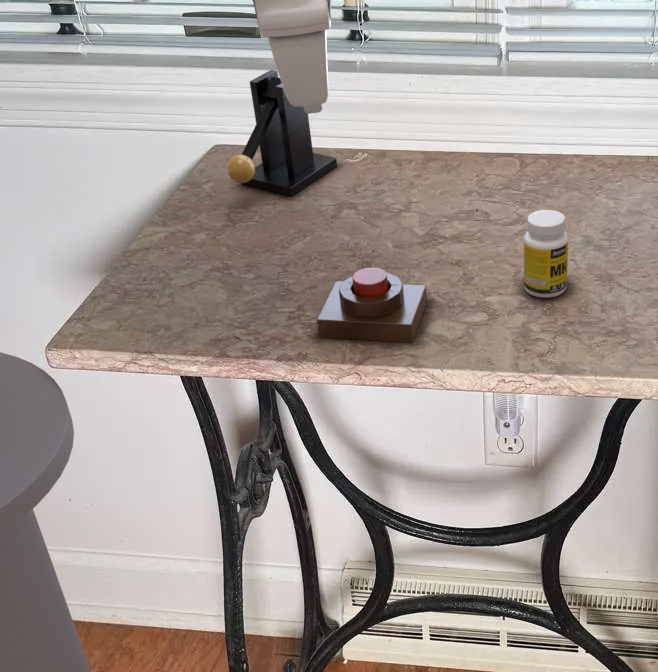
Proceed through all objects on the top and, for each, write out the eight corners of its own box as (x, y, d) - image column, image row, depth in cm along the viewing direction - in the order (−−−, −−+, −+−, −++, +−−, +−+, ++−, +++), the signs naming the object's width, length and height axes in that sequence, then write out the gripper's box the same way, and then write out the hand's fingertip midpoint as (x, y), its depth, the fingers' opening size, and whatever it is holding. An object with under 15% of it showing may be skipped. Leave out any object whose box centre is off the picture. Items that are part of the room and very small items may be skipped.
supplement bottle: (554, 303, 127) (554, 232, 122) (516, 292, 129) (515, 222, 124) (575, 283, 130) (576, 213, 125) (537, 273, 132) (537, 203, 127)
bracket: (291, 196, 150) (277, 97, 141) (242, 184, 153) (225, 87, 145) (337, 166, 156) (326, 69, 148) (288, 155, 159) (275, 60, 151)
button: (350, 298, 123) (348, 283, 121) (358, 281, 125) (356, 266, 124) (384, 300, 122) (383, 285, 121) (391, 282, 125) (390, 268, 124)
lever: (253, 190, 146) (239, 175, 143) (231, 185, 148) (217, 170, 145) (300, 93, 149) (287, 76, 146) (278, 89, 150) (265, 72, 147)
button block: (319, 337, 124) (314, 304, 121) (337, 298, 130) (333, 266, 127) (412, 342, 122) (410, 309, 120) (427, 303, 128) (425, 270, 126)
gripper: (247, -111, 113) (272, 9, 125) (258, 36, 104) (285, 151, 116) (312, -118, 114) (332, 2, 126) (330, 27, 104) (349, 143, 116)
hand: (309, 74), depth 121 cm, fingers open, 8 cm apart
